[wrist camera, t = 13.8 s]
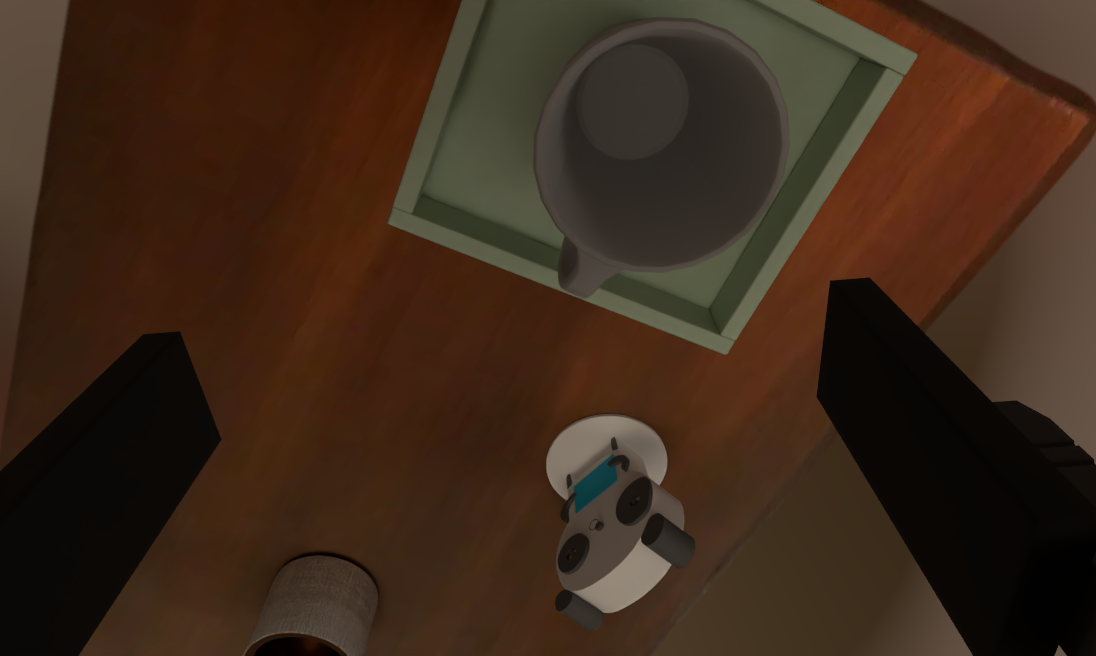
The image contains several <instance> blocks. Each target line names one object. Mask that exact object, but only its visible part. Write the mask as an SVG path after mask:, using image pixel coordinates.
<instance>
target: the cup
mask: <svg viewBox="0 0 1096 656" xmlns="http://www.w3.org/2000/svg"><path fill="white" fill-rule="evenodd" d="M789 146H790V136H789V121H788V109H787V106H786V103H785V101H784V98H783V95H782V92H781V89H780V87H779V84H778V81H777V78H776V77H775V75H774V74H773V73H772V71H771V70H770V69H769V67H768V66H767V65H766V63H765V62H764V61H763V59H762V58H761V57H760V55H759V54H758V52H757V51H756V50H755V49H753V48H752V47H751V46H749V45H748V44H747V43H745V42H744V41H742V40H741V39H740V38H738V37H737V36H736V35H734V34H733V33H731V32H730V31H729V30H727V29H724V28H721V27H718V26H715V25H712V24H709V23H706V22H703V21H701V20H698V19H695V18H672V17H654V18H647V19H640V20H636V21H632V22H628V23H624V24H620V25H616V26H613V27H611V28H609V29H608V30H606V31H604V32H602V33H601V34H599V35H597V36H595V37H594V38H592V39H590V40H589V41H588V42H587V43H586V44H585V45H584V46H583V47H582V48H581V49H579V50H578V51H577V52H576V53H575V54H574V55H573V56H572V57H571V58H570V59H569V61H568V62H567V64H566V65H565V67H564V68H563V70H562V72H561V73H560V75H559V77H558V78H557V80H556V82H555V83H554V85H553V87H552V88H551V90H550V92H549V93H548V95H547V97H546V98H545V100H544V102H543V105H542V109H541V112H540V116H539V119H538V123H537V126H536V130H535V133H534V153H533V170H534V174H535V178H536V182H537V186H538V190H539V194H540V198H541V201H542V203H543V204H544V206H545V208H546V210H547V212H548V213H549V215H550V217H551V219H552V221H553V222H554V224H555V226H556V227H557V228H558V229H559V230H560V231H561V232H562V233H563V234H564V235H565V237H564V240H563V244H562V248H561V252H560V257H559V265H558V282H559V285H560V287H561V288H562V289H564V290H565V291H567V292H569V293H572V294H574V295H576V296H579V297H582V298H588V297H589V296H591V295H593V294H594V293H595V292H596V291H597V290H598V288H599V287H600V286H601V284H602V283H603V282H604V281H605V280H607V279H609V278H610V277H612V276H614V275H615V274H617V273H619V272H622V271H624V270H628V271H631V272H656V273H664V272H669V271H674V270H678V269H683V268H688V267H693V266H695V265H697V264H700V263H702V262H704V261H706V260H708V259H710V258H712V257H715V256H717V255H719V254H721V253H723V252H724V251H725V250H727V249H728V248H729V247H731V246H732V245H733V244H734V243H736V242H737V241H738V240H740V239H741V238H742V237H743V236H745V235H746V234H747V233H748V232H749V231H750V230H751V229H752V227H753V226H754V225H755V224H756V222H757V221H758V220H759V219H760V217H761V216H762V215H763V214H764V213H765V211H766V210H767V209H768V208H769V206H770V204H771V202H772V200H773V198H774V195H775V193H776V191H777V189H778V187H779V185H780V183H781V181H782V179H783V176H784V171H785V166H786V161H787V156H788V151H789Z"/></svg>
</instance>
